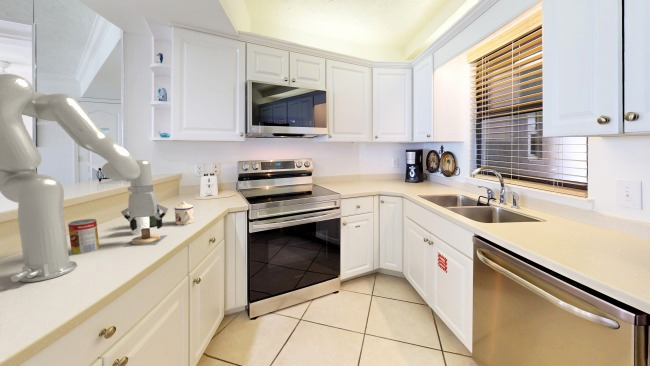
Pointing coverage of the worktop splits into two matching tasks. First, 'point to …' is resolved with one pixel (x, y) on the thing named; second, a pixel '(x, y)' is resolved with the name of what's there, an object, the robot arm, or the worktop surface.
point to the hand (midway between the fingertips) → (147, 228)
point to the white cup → (141, 225)
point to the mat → (145, 244)
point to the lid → (145, 237)
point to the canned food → (83, 236)
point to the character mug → (152, 221)
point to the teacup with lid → (184, 214)
